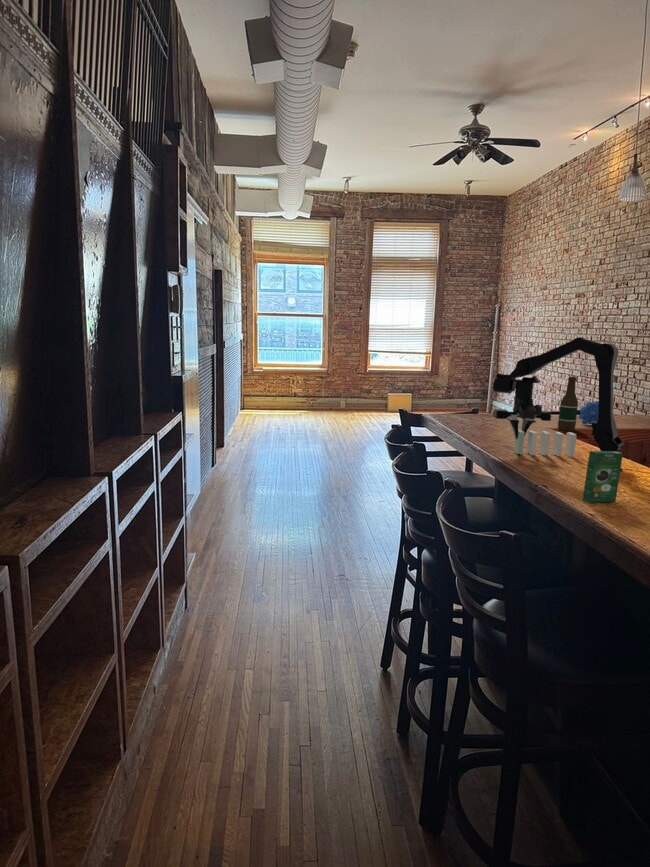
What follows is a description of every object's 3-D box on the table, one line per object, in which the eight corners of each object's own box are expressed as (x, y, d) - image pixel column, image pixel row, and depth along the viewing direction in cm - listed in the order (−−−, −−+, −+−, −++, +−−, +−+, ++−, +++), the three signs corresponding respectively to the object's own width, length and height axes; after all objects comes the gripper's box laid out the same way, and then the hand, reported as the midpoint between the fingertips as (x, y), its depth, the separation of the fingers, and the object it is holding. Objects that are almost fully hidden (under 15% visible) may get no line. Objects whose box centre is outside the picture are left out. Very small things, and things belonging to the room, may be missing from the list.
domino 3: (547, 456, 191) (550, 433, 190) (543, 455, 191) (545, 433, 190) (543, 453, 196) (545, 431, 194) (538, 452, 196) (541, 431, 194)
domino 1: (513, 451, 196) (516, 429, 194) (518, 451, 196) (520, 430, 194) (517, 454, 191) (519, 432, 190) (522, 454, 191) (524, 432, 190)
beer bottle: (553, 429, 248) (559, 376, 244) (561, 427, 253) (567, 375, 249) (570, 431, 243) (577, 377, 238) (578, 430, 248) (585, 377, 243)
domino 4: (560, 456, 191) (563, 434, 190) (556, 456, 191) (558, 434, 190) (556, 453, 196) (558, 431, 194) (551, 453, 196) (554, 431, 194)
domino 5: (573, 457, 191) (576, 434, 189) (569, 457, 191) (572, 434, 189) (568, 454, 195) (571, 432, 194) (564, 454, 195) (566, 432, 194)
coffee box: (609, 499, 142) (615, 450, 140) (616, 502, 139) (624, 452, 137) (581, 500, 140) (588, 450, 138) (589, 503, 138) (595, 452, 135)
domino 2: (534, 455, 192) (537, 433, 190) (530, 455, 192) (532, 432, 190) (530, 452, 196) (532, 430, 195) (526, 452, 196) (528, 430, 195)
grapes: (604, 425, 264) (607, 400, 262) (604, 427, 258) (607, 402, 256) (577, 422, 269) (580, 398, 267) (577, 424, 263) (580, 400, 261)
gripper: (502, 396, 183) (498, 442, 186) (559, 398, 182) (554, 444, 185) (494, 392, 194) (490, 436, 197) (547, 395, 193) (543, 438, 196)
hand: (519, 438), depth 193 cm, fingers closed on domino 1, 2 cm apart
